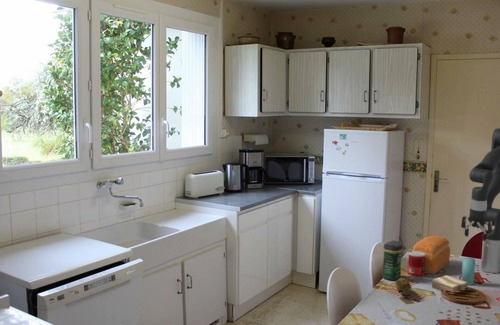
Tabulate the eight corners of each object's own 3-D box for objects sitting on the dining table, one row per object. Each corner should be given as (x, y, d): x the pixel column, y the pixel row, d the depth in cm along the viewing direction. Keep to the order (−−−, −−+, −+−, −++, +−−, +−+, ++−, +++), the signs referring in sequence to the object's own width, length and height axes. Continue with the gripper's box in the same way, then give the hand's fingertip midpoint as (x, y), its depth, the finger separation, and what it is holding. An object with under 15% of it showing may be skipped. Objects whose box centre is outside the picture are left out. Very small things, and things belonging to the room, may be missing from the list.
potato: (417, 292, 225) (418, 275, 224) (407, 300, 215) (407, 283, 214) (400, 288, 230) (401, 271, 229) (389, 296, 220) (389, 278, 219)
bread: (408, 270, 257) (409, 240, 255) (425, 258, 277) (426, 231, 276) (434, 275, 248) (436, 245, 247) (450, 263, 269) (452, 235, 267)
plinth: (446, 283, 237) (446, 275, 237) (467, 290, 228) (467, 282, 228) (431, 287, 231) (432, 279, 231) (452, 294, 222) (453, 286, 222)
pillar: (465, 280, 242) (467, 256, 240) (476, 283, 237) (477, 259, 236) (458, 282, 239) (460, 258, 237) (469, 286, 234) (470, 261, 233)
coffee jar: (395, 282, 238) (396, 245, 236) (379, 278, 243) (381, 242, 241) (402, 277, 246) (404, 241, 244) (388, 273, 251) (389, 238, 249)
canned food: (425, 277, 246) (426, 256, 245) (408, 276, 247) (409, 254, 246) (422, 272, 253) (424, 251, 252) (406, 271, 255) (407, 250, 254)
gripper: (495, 209, 242) (492, 239, 246) (466, 203, 252) (464, 233, 255) (490, 212, 237) (487, 244, 240) (460, 206, 247) (458, 236, 250)
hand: (475, 238), depth 248 cm, fingers open, 8 cm apart
